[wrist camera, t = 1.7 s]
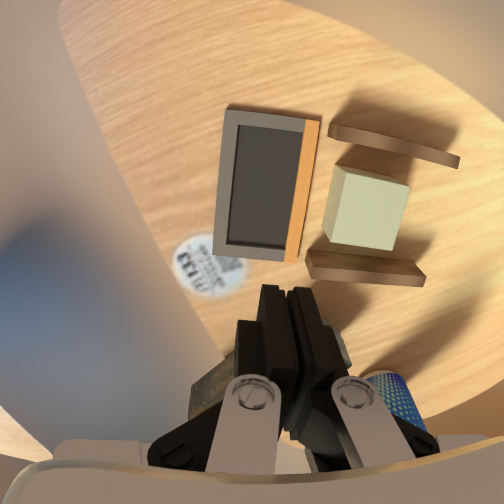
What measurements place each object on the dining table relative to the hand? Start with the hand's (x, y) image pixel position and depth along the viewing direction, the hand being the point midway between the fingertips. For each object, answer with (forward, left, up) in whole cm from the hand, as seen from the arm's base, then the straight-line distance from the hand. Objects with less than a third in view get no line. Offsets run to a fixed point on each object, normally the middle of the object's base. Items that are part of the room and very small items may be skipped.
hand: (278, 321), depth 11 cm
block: (-9, 0, -20) cm, 22 cm away
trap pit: (0, 0, -19) cm, 19 cm away
